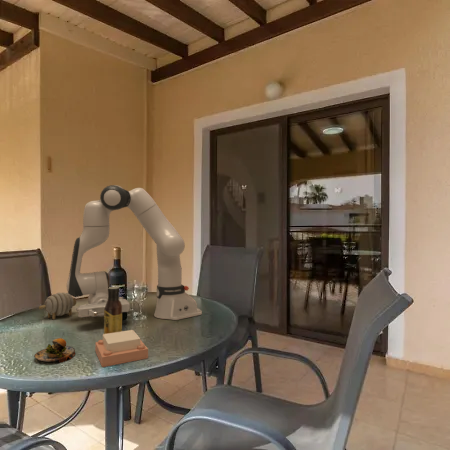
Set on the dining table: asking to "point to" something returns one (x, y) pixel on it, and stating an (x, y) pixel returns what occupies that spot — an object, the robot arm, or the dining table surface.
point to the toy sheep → (59, 304)
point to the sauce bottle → (113, 312)
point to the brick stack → (120, 348)
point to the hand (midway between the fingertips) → (107, 313)
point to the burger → (56, 352)
